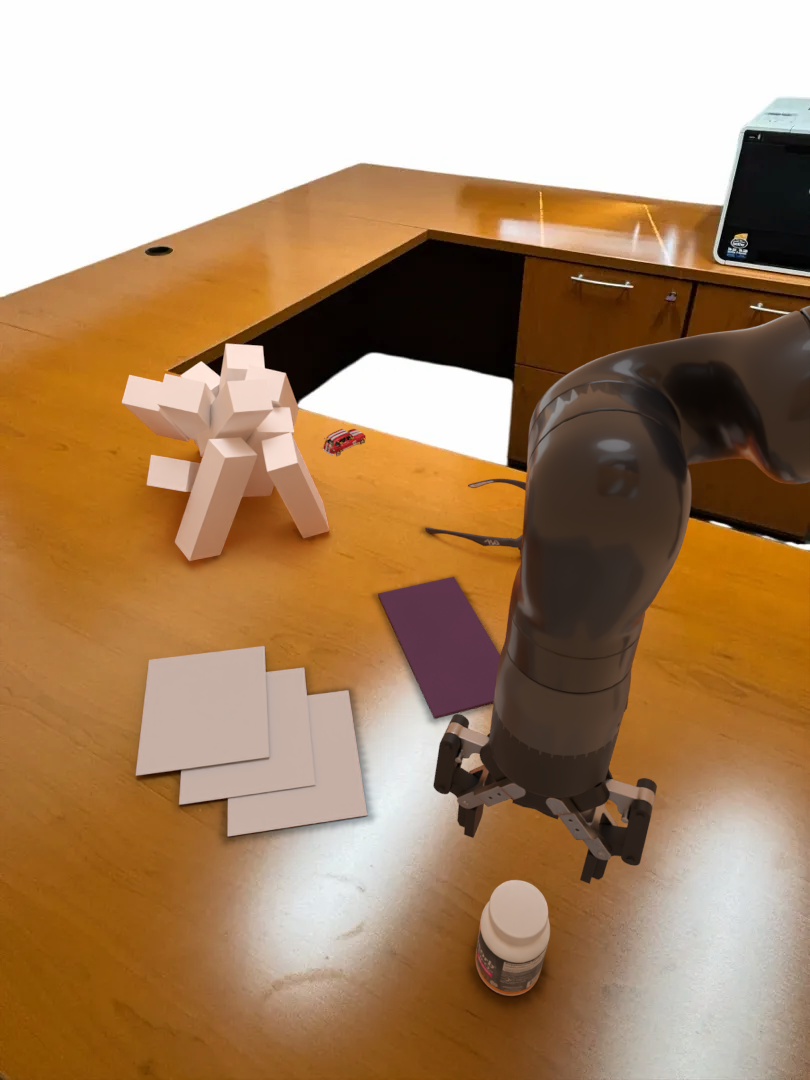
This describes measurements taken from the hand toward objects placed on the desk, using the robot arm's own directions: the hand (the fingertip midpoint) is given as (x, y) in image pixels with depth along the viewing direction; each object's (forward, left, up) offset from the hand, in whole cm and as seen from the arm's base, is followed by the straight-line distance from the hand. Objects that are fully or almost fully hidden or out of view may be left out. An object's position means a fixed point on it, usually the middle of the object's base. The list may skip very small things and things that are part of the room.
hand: (529, 848), depth 56 cm
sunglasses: (+21, -60, -19) cm, 66 cm away
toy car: (+52, -71, -19) cm, 90 cm away
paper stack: (+34, -12, -19) cm, 41 cm away
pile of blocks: (+59, -48, -19) cm, 78 cm away
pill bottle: (0, 0, -19) cm, 19 cm away
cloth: (+19, -34, -19) cm, 43 cm away
